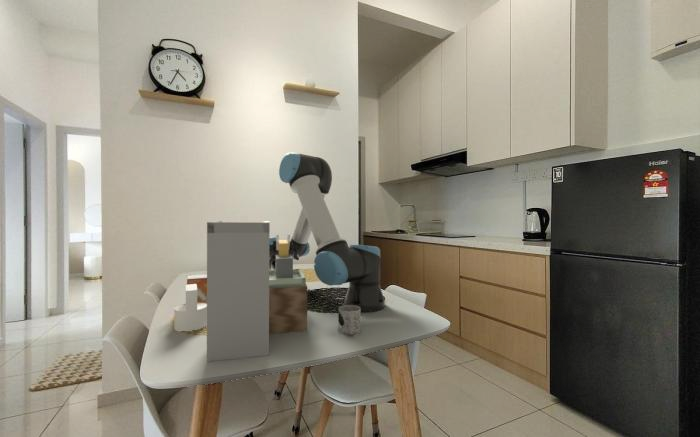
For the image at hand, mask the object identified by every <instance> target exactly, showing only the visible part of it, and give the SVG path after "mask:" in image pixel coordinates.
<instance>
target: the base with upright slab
mask: <svg viewBox="0 0 700 437" xmlns="http://www.w3.org/2000/svg"><path fill="white" fill-rule="evenodd" d="M173 312H174V316H173V317H174V318H173V320H174V322H173V325H174V328H173V330H174V331H175V332H179V333H181V331H190V332H193V331H192V330H196V331H198V330H197V329H199V330H202V329H204V328H206V327H207V304H206V303H197V284H189V285H187V284H185V303H184V304H180V305H177V306H175V307H174V311H173ZM205 326H206V327H205ZM203 327H204V328H203ZM201 328H202V329H201Z"/></svg>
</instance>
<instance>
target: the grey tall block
mask: <svg viewBox="0 0 700 437" xmlns="http://www.w3.org/2000/svg"><path fill="white" fill-rule="evenodd" d="M270 225H271V224H270V220H265V221H259V222H257V221H253V222H252V221H251V222H250V221H240V222H239V221H222V220H221V221H220V220H214V221H208V222H207V221H206V275H207V326H206V362H208V363H209V362H214V361H215V362H216V361H225V360H235V359H246V358H257V357H264V356H269V354H270V334H269V270H270V269H269V238H270V227H271V226H270Z"/></svg>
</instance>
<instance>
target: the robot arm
mask: <svg viewBox="0 0 700 437" xmlns="http://www.w3.org/2000/svg"><path fill="white" fill-rule="evenodd" d="M279 164H280V165H279V170H278V174H279V179H280V180H281V182H283V183H285V184H288V185H289V187H290V190H291V191H292V192H293V193H295V194H297V197H298V200H299V201H300V204H301V211H300V213H299V216H298V219H297V221H296V224H295V228H294V231H293V233H292V237H291V234H287V238H286V240H287V242H288V243H289V254H291V255H292V257H293V260H296V261H299V260H300V257H305V256H308V255H309V253H310V251H311V250H310V248H311V246H310V244H309V242H308V241H309V239H310V236H311V234H313V238H314V240H315V243H316V246H317V249H316V251H315V255H316V256H315V258H314V260H313V263H314V265H313V268H314V269H313V270H314V273H315V275H316V276H317V278H318V280H319V281H320V282H321V283H323V284H324V285H327V286H330V287H331V286H332V287H333V286H341V285H344V284H347V283H349V286H348V287H347V288H348V289H347V291H346V293H345V298H344V305H355V306H359V307H360V308H361V312H365V313H366V312H367V313H368V312H375V311H376V310H377V311H380V309H381V310H382V308H383V309H384V308H385V297H384V295H383V292H382V288H381V259H382V257H381V249H380V248H379V247H378V246H375V245H374V246H373V245H365V244H364V245H363V244H354V243H353V244H350V245H349V244H348V241H347V240H346V239H343V238H341V236H340V235H339V231H338V229H337V227H336V225H335V223H334V220H333V218H332V215H331V213H330V210H329V208H328V206H327V203H326V201H325V197H326V195H328V194H329V192H330V189H331V187H332V181H333V172H332V169H331V165H329V163H328V161H326V160H325V159H323V158H321V157H319V156H312V155H307V154H304V153H299V152H287V153H286V154H285V155H284V156H283V158H282V160H281V161H280V163H279ZM279 240H280V237H279V234H276V237H275V236H269V270H276V255H279V250H278V247H279ZM377 311H376V312H377Z"/></svg>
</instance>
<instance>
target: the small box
mask: <svg viewBox="0 0 700 437" xmlns="http://www.w3.org/2000/svg"><path fill="white" fill-rule="evenodd" d="M189 284H197V303H206V304H207V274H195V275H194V274H193V275H187V278H186V285H189Z"/></svg>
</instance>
